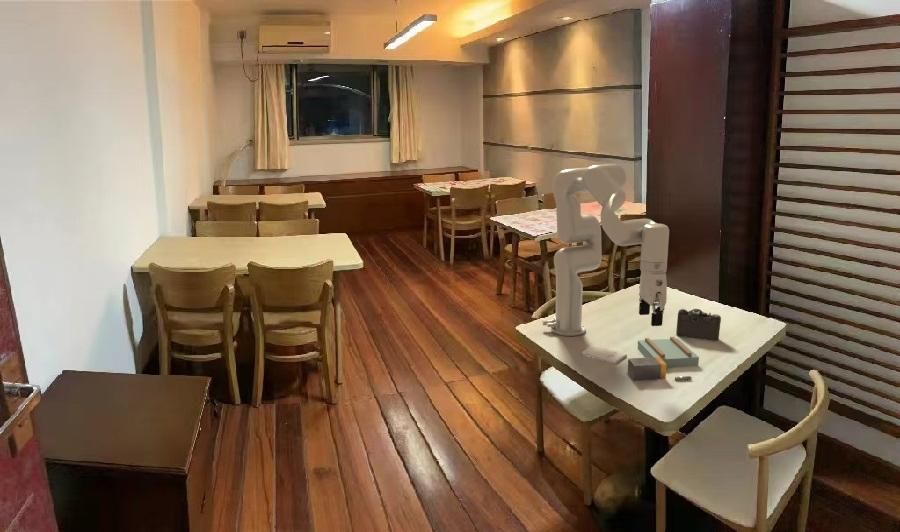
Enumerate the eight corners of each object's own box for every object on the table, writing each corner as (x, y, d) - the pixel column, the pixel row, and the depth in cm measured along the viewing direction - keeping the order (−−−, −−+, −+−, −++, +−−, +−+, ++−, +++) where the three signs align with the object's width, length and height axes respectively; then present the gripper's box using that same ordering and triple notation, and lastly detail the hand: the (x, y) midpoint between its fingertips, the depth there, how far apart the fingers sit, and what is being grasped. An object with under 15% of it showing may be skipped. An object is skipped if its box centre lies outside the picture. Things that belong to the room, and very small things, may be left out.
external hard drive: (593, 348, 221) (626, 357, 213) (581, 356, 215) (615, 365, 207) (593, 344, 220) (626, 353, 212) (581, 351, 215) (615, 361, 207)
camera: (720, 332, 231) (722, 306, 229) (718, 342, 222) (721, 315, 219) (678, 326, 237) (680, 301, 235) (675, 337, 228) (677, 310, 225)
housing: (633, 381, 195) (634, 366, 194) (627, 373, 200) (628, 358, 199) (665, 379, 196) (666, 364, 194) (658, 371, 201) (659, 356, 200)
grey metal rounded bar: (675, 381, 194) (675, 378, 194) (673, 380, 195) (674, 376, 195) (692, 380, 194) (692, 377, 194) (690, 379, 196) (690, 375, 195)
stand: (655, 368, 203) (656, 356, 202) (637, 348, 218) (638, 337, 217) (698, 365, 204) (699, 353, 203) (677, 346, 219) (678, 335, 218)
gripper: (678, 272, 180) (674, 329, 185) (654, 257, 197) (651, 310, 202) (652, 274, 180) (649, 331, 184) (630, 258, 196) (628, 311, 201)
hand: (650, 319), depth 193 cm, fingers open, 9 cm apart
